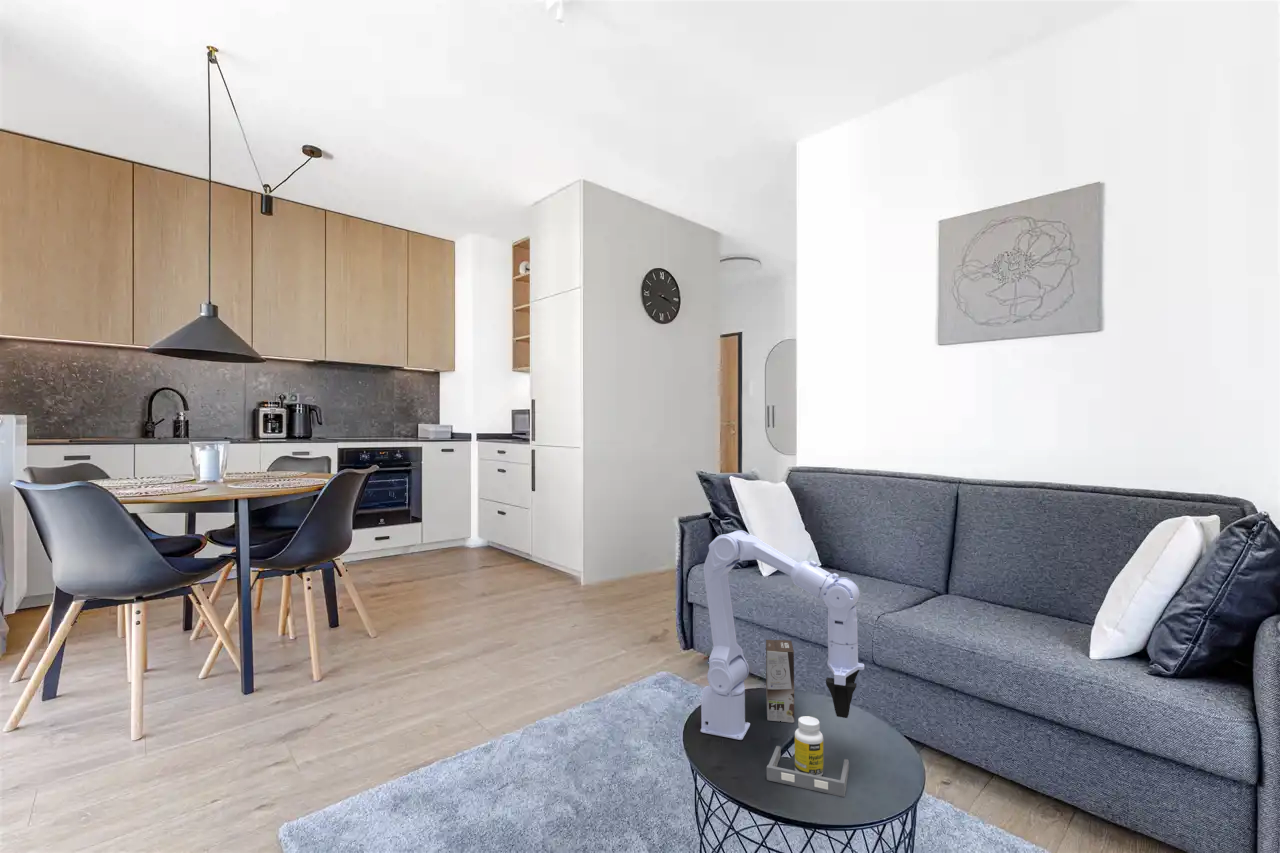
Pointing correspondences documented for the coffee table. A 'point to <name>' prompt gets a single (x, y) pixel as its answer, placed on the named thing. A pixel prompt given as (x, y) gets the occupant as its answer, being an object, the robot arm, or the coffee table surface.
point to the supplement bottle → (809, 746)
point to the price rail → (807, 777)
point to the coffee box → (780, 680)
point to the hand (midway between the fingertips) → (843, 708)
